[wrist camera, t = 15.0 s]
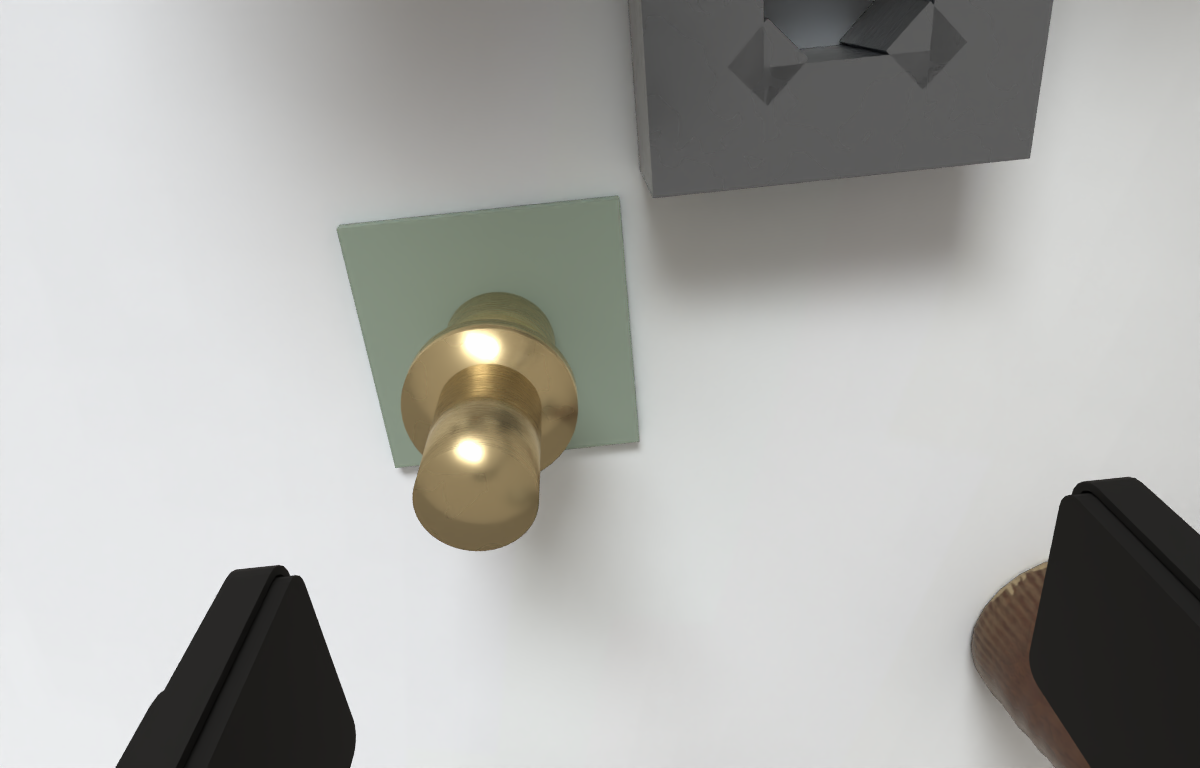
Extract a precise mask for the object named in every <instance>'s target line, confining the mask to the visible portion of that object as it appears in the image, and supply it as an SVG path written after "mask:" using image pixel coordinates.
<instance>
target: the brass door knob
mask: <svg viewBox="0 0 1200 768" xmlns="http://www.w3.org/2000/svg"><path fill="white" fill-rule="evenodd" d="M401 414H402V420H403V423H404V426H405V429H406V431H407V434H408V436H409V438H410V440H411V441H412V443H413V444H414V446H415V447H416V448H417V450H418V451H419V452H420V453H421V454H422V455H423V456H422V460H421V463H420V467H419V470H418V474H417V477H416V481H415V485H414V489H413V506H414V510H415V513H416V515H417V518H418V520H419V521H420V523H421V524H422V526H423V527H424V528H425V529H426V530H427V531H428V532H429V533H430V534H431V535H432V536H433V537H435V538H436V539H438V540H439V541H441V542H443V543H445V544H447V545H449V546H452V547H455V548H459V549H463V550H469V551H487V550H493V549H497V548H501V547H503V546H506V545H508V544H510V543H512V542H514V541H516V540H517V539H519V538H520V537H521V536H522V535H523V534H524V533H526V531H527V530H528V529H529V528H530V527H531V525H532V523H533V522H534V520H535V517H536V515H537V511H538V506H539V483H540V471H542V470H544V469H545V468H546V467H548V466H549V465H550V464H552V463H553V462H554V461H555V460H556V459H557V458H558V457H559V456H560V455H561V454H562V452H563V451H564V450H565V449H566V447H567V445H568V444H569V442H570V440H571V438H572V436H573V433H574V431H575V427H576V424H577V417H578V398H577V386H576V381H575V378H574V375H573V372H572V369H571V367H570V365H569V364H568V362H567V360H566V359H565V357H564V356H563V354H562V353H561V352H560V351H559V349H558V348H557V347H556V346H555V336H554V331H553V329H552V326H551V324H550V322H549V320H548V318H547V317H546V315H545V314H544V313H543V312H542V311H541V309H540V308H539V307H537V306H536V305H535V304H534V303H532V302H531V301H529V300H527V299H525V298H523V297H521V296H518V295H515V294H511V293H506V292H491V293H485V294H481V295H478V296H476V297H473V298H471V299H470V300H468V301H466V302H465V303H464V304H462V305H461V306H460V307H459V308H458V309H457V310H456V311H455V312H454V314H453V315H452V317H451V319H450V321H449V323H448V326H447V328H446V329H444V330H443V331H441V332H440V333H438V334H436V335H435V336H434V337H432V338H431V339H430V340H429V341H428V342H427V343H426V344H425V345H424V346H423V347H422V348H421V349H420V350H419V352H418V353H417V355H416V356H415V358H414V359H413V362H412V364H411V366H410V368H409V370H408V373H407V376H406V378H405V382H404V385H403V388H402V394H401Z"/></svg>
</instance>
